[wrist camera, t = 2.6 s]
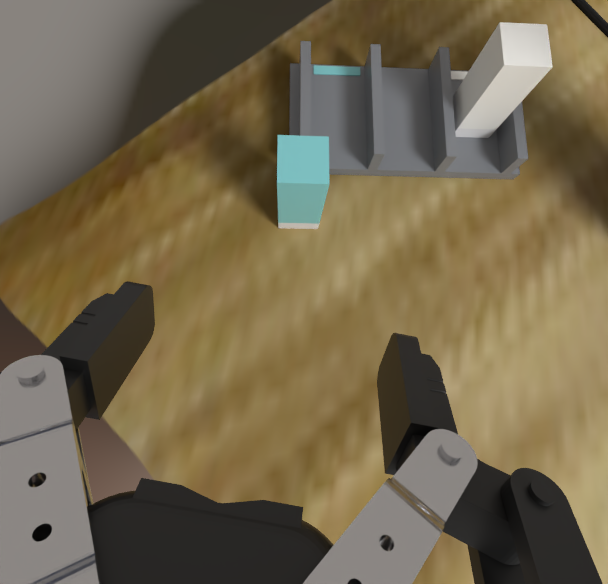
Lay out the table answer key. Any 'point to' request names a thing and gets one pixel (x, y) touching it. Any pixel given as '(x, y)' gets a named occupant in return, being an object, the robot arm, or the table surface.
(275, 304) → the table surface
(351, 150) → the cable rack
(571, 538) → the robot arm
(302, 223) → the teal plug
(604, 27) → the pen
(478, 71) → the white rectangular block
